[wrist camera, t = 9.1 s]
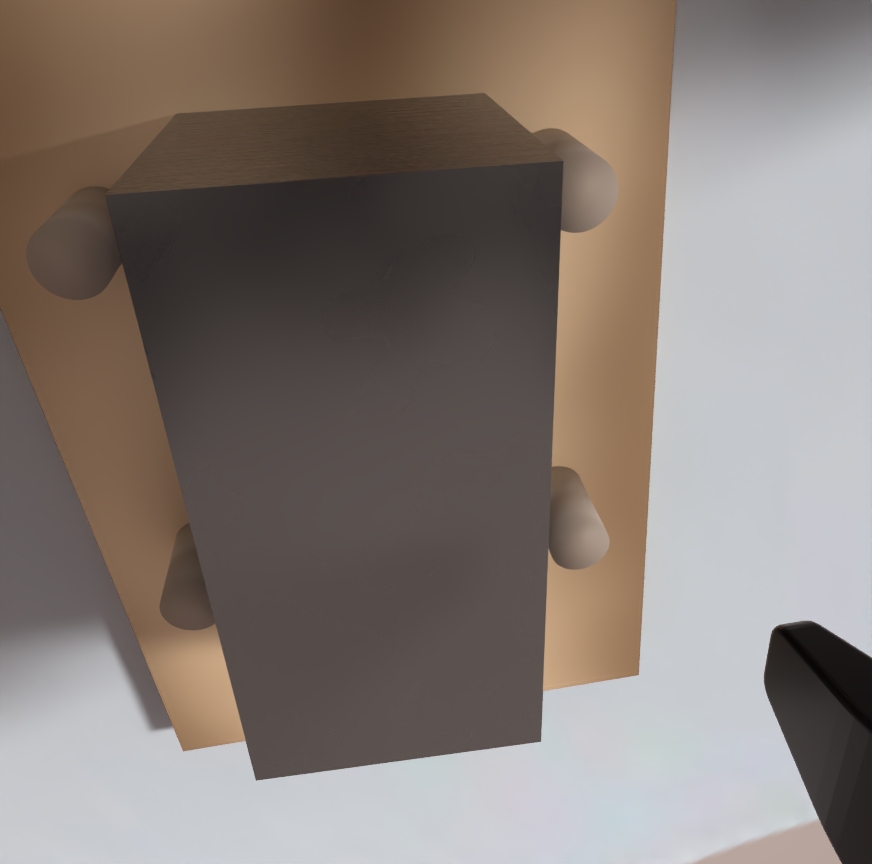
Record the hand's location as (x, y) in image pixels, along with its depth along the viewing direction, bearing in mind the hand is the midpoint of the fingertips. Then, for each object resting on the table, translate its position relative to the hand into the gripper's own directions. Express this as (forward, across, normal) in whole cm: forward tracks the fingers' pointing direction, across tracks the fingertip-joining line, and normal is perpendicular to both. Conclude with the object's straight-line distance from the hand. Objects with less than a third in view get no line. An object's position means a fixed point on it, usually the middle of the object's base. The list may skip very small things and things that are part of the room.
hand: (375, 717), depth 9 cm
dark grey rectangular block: (+8, 0, 0) cm, 8 cm away
